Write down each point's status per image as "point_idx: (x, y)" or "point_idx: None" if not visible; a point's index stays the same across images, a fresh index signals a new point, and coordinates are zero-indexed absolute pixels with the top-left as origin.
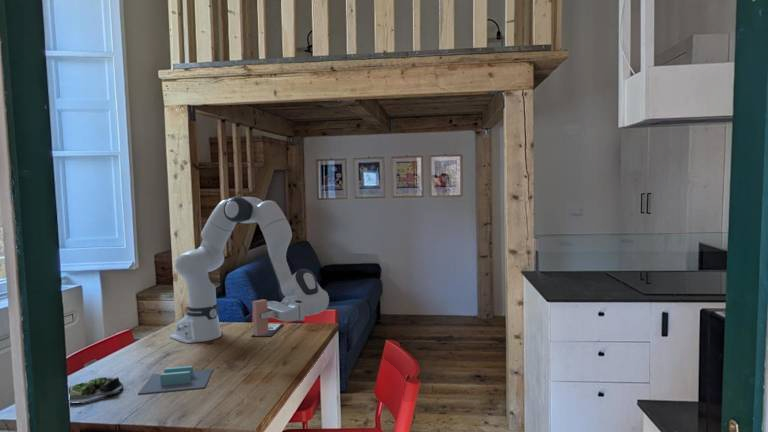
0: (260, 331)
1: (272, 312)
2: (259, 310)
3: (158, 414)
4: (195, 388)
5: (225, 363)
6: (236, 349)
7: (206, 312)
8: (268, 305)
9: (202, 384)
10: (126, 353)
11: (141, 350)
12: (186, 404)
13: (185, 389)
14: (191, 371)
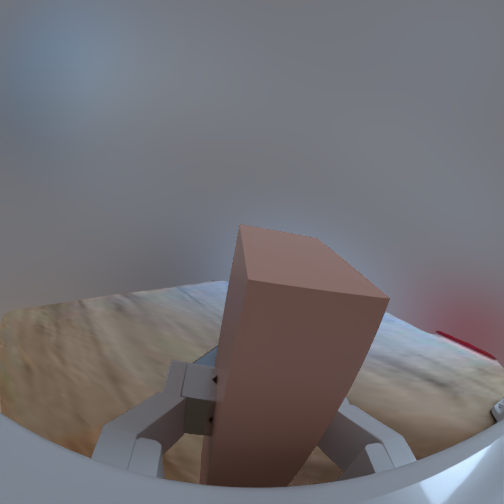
0: (202, 460)
1: (104, 437)
2: (222, 335)
3: (157, 303)
4: (199, 359)
5: (331, 462)
6: None
7: None
8: (440, 495)
9: None
10: (450, 350)
11: (461, 362)
12: (149, 326)
13: (212, 350)
14: None
